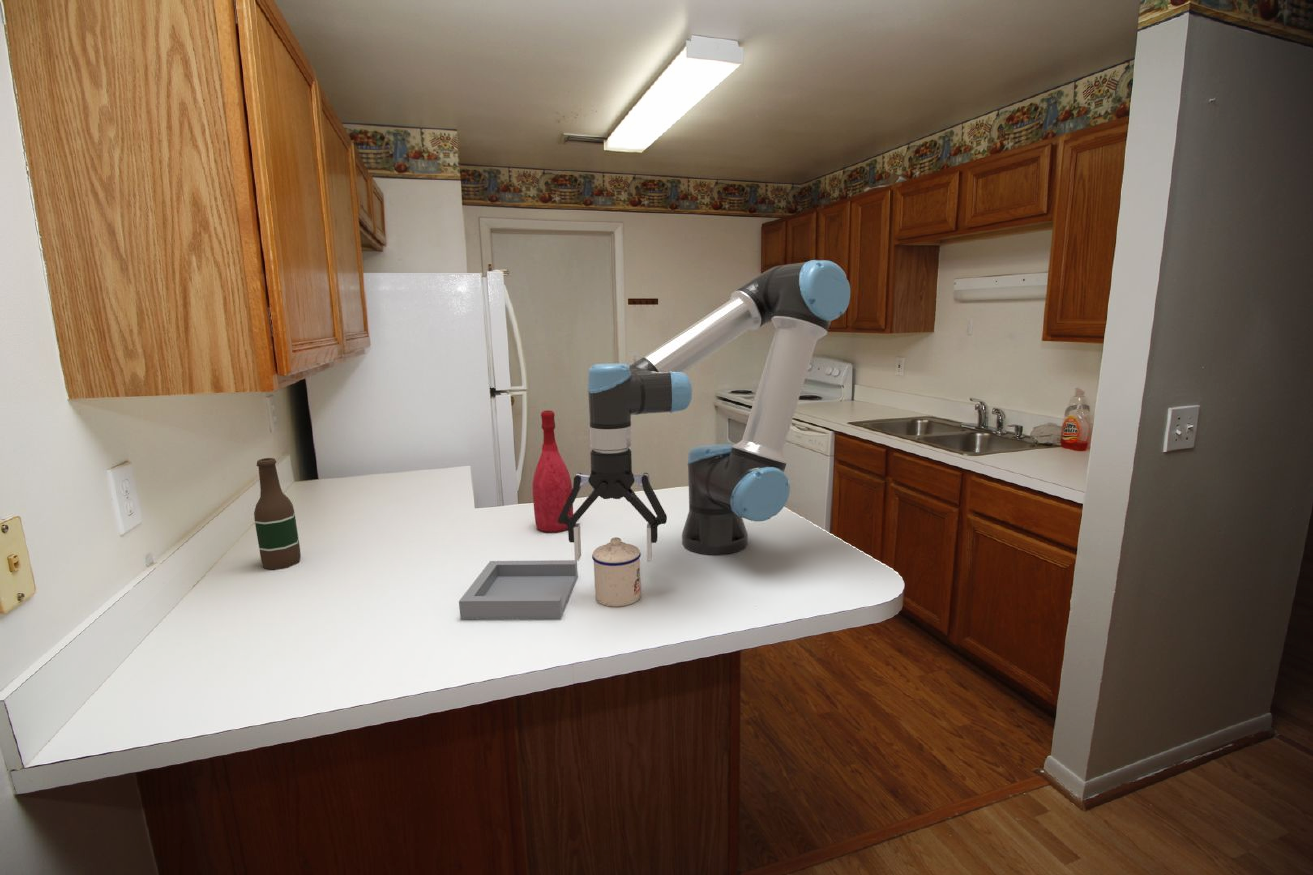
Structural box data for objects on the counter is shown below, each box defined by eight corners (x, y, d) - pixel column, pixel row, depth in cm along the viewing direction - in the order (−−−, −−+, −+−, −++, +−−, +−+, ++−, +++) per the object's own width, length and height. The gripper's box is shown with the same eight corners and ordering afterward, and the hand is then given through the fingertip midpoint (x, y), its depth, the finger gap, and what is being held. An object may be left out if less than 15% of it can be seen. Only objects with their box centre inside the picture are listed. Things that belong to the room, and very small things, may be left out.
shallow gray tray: (577, 576, 126) (576, 560, 125) (560, 618, 108) (559, 600, 107) (491, 576, 127) (490, 560, 126) (460, 619, 109) (458, 601, 108)
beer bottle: (307, 562, 137) (291, 458, 132) (267, 573, 131) (250, 465, 127) (295, 553, 142) (280, 453, 137) (257, 564, 137) (239, 460, 132)
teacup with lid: (646, 604, 113) (644, 545, 110) (597, 610, 111) (594, 550, 109) (635, 578, 124) (633, 523, 122) (590, 583, 122) (587, 527, 120)
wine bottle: (566, 534, 150) (559, 414, 144) (529, 532, 152) (520, 413, 146) (579, 521, 159) (573, 407, 153) (543, 519, 161) (536, 407, 155)
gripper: (679, 444, 115) (679, 551, 119) (547, 444, 116) (552, 550, 120) (678, 453, 108) (679, 566, 112) (538, 453, 109) (544, 565, 113)
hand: (613, 558), depth 116 cm, fingers open, 13 cm apart
